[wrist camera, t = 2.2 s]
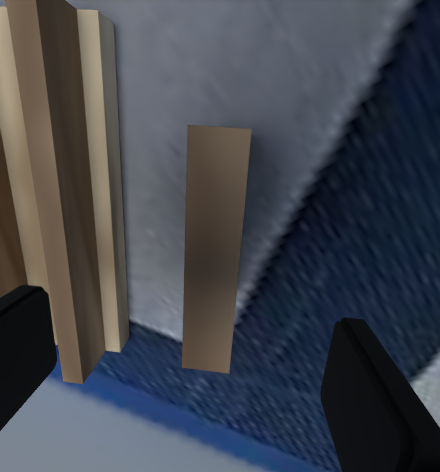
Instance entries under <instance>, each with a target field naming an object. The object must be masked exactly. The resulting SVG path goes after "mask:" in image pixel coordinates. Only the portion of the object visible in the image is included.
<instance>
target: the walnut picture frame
mask: <svg viewBox="0 0 440 472" xmlns="http://www.w3.org/2000/svg"><path fill="white" fill-rule="evenodd" d="M251 132H252V129H245V128H229V127H213V126H197V125H188V141H187V183H186V225H185V267H184V308H183V350H182V368H190V369H198V370H206V371H214V372H222V373H229V369H230V358H231V347H232V337H233V326H234V316H235V305H236V294H237V283H238V273H239V262H240V251H241V240H242V230H243V219H244V208H245V197H246V187H247V176H248V164H249V154H250V143H251Z"/></svg>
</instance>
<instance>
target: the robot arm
mask: <svg viewBox="0 0 440 472" xmlns="http://www.w3.org/2000/svg"><path fill="white" fill-rule="evenodd" d="M56 362H57V354H56V347H55V339H54V332H53V324H52V316H51V309H50V301H49V295H48V293H47V292H46V291H45V290H44V288H43V287H41V286H32V285H21V286H19V287H17V288H15V289H14V290H12V291H11V292H9V293H7V294H6V295H4V296H2V297H1V298H0V431H1V430H2V428H3V427H4V426H5V425H6V424H7V423H8V421H9V420H10V419H11V418H12V417H13V416H14V415H15V413H16V412H17V411H18V410H19V409H20V408H21V406H22V405H23V404H24V403H25V402H26V400H27V399H28V398H29V397H30V396H31V395H32V394H33V393H34V391H35V390H36V389H37V388H38V386H40V384H41V383H42V382H43V381H44V380H45V379H46V377H47V376H48V375H49V374H50V373H51V372H52V370H53V369H54V367H55V365H56ZM321 402H322V406H323V409H324V412H325V416H326V419H327V422H328V426H329V429H330V432H331V436H332V439H333V442H334V446H335V449H336V452H337V456H338V459H339V462H340V466H341V469H342V472H440V427H439V426H438V425H437V423H436V422H435V420H434V419H433V417H432V416H431V415H430V413H429V412H428V410H427V409H426V407H425V406H424V404H423V403H422V402H421V400H420V399H419V397H418V396H417V394H416V393H415V392H414V390H413V389H412V387H411V386H410V384H409V383H408V381H407V380H406V379H405V377H404V376H403V374H402V373H401V372H400V371H399V369H398V368H397V366H396V365H395V364H394V362H393V361H392V359H391V358H390V356H389V355H388V353H387V352H386V351H385V349H384V348H383V346H382V345H381V343H380V342H379V340H378V339H377V338H376V336H375V335H374V333H373V332H372V330H371V329H370V327H369V326H368V325H367V323H366V322H365V321H364V320H363V319H355V318H345V317H344V318H342V320H341V322H338V321H337V322H336V323H335V326H334V331H333V336H332V340H331V345H330V349H329V354H328V359H327V363H326V368H325V372H324V377H323V382H322V386H321Z"/></svg>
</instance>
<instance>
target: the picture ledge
mask: <svg viewBox="0 0 440 472" xmlns="http://www.w3.org/2000/svg"><path fill="white" fill-rule="evenodd" d="M6 6H7V7H0V298H1V297H2V296H4V295H6V294H7V293H9V292H11V291H12V290H14V289H15V288H17V287H19V286H21V285H32V286H41V287H43V288H44V290H45V291H46V292H47V293H48V295H49V301H50V309H51V316H52V324H53V332H54V339H55V344H57V345H58V349H59V356H60V362H61V369H62V375H63V381H64V382H72V383H79V384H83V383H84V382H85V380H86V379H87V377H88V376H89V374H90V373H91V372H92V370H93V369H94V367H95V366H96V364H97V363H98V361H99V360H100V358H101V357H102V355H103V354H104V352H105V351H114V352H120V351H121V350H122V348H123V347H124V345H125V343H126V342H127V340H128V338H129V319H128V299H127V279H126V259H125V239H124V220H123V200H122V180H121V160H120V140H119V120H118V101H117V81H116V61H115V41H114V24H113V23H112V22H111V21H110V20H109V19H108V18H106V17H105V16H104V15H103V14H102V13H101V12H99V11H98V10H80V9H76V8H74V7H73V6H72V5H70V4H69V3H68V2H66V1H65V0H6Z"/></svg>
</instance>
